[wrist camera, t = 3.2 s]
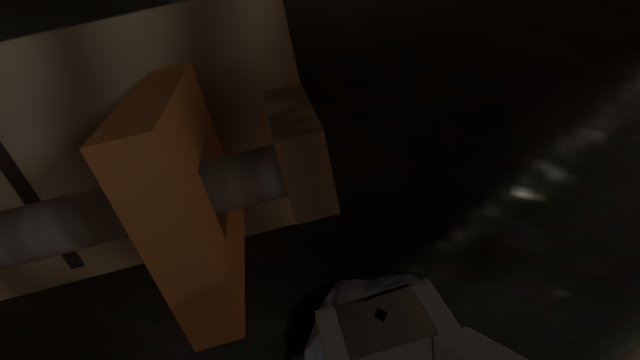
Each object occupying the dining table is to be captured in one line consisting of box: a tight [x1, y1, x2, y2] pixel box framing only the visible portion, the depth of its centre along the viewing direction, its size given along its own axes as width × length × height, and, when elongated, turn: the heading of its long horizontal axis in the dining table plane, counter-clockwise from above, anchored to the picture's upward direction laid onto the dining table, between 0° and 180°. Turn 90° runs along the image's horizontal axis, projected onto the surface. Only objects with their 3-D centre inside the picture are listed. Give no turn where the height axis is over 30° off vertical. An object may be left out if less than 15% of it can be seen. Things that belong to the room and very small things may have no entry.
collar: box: [79, 62, 245, 352], centre depth 17 cm, size 2×9×9 cm, turn 11°
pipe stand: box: [0, 0, 340, 301], centre depth 19 cm, size 22×14×8 cm, turn 101°
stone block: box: [303, 273, 420, 360], centre depth 32 cm, size 12×5×10 cm
